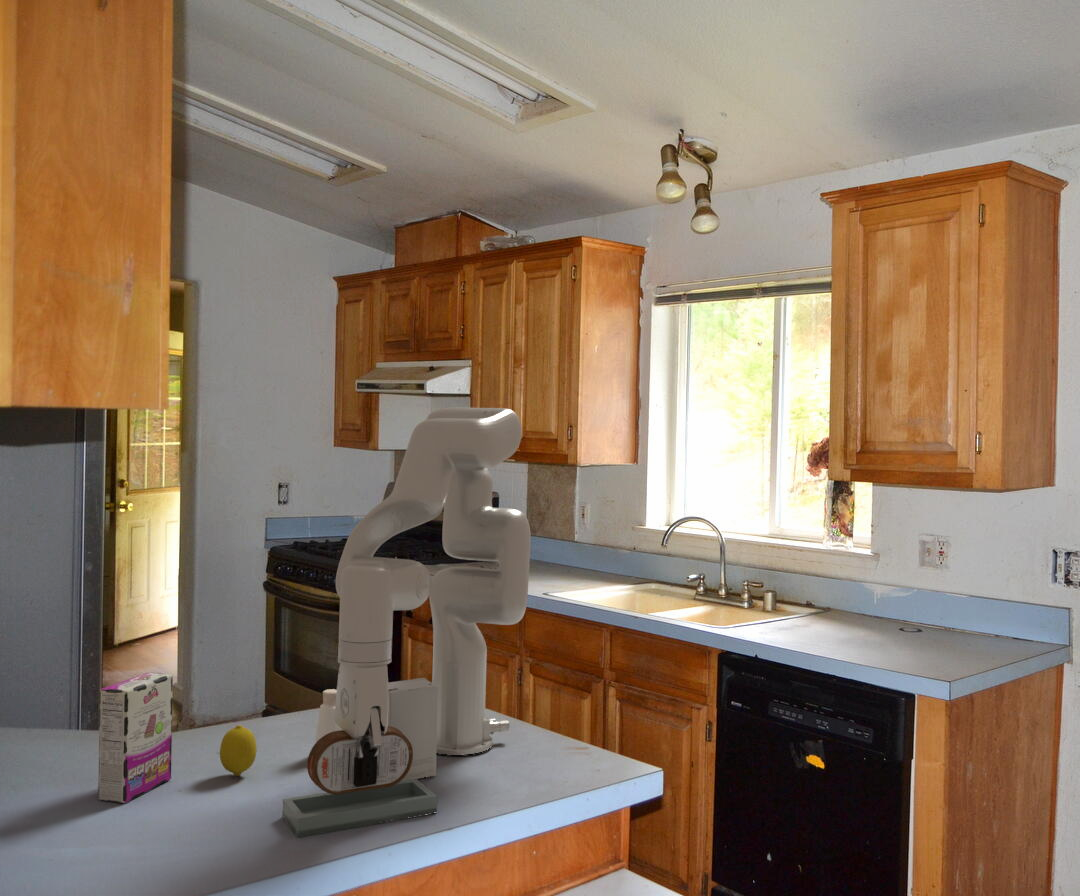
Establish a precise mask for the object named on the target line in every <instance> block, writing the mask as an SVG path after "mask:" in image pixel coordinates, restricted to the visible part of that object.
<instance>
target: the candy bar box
mask: <svg viewBox="0 0 1080 896" xmlns="http://www.w3.org/2000/svg"><path fill="white" fill-rule="evenodd" d="M173 676H174V674H169V673H162V672H160V673H159V672H146V673H143V674H140V675H137V676H135V677H132V678H129V679H128V678H127V679H126V680H123V681H119V682H117V683H114V684H112V685H108V686H106V687H103V688H100V689H99V723H98V725H99V726H98V727H99V731H98V735H99V738H98V739H99V743H98V744H99V745H98V787H97V788H98V789H97V790H98V793H97V794H98V796H97V799H98V801H101V800H104V801H103V802H105V801H111V802H110V803H116V802H117V803H118V804H127V802H128V803H129V802H131V801H133V800H135V799H137V798H138V797H141V796H143V795H144V794H146V793H148V792H150V791H151V790H154V789H155V788H157V787H159V786H161V785H162V784H165V783H166V782H168V781H170V780H171V779H172V748H173V747H172V745H173V744H172V743H173V741H172V740H173V739H172V737H173V727H172V725H173V688H174V687H173V684H174V683H173V679H174V678H173Z"/></svg>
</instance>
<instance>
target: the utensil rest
mask: <svg viewBox="0 0 1080 896" xmlns="http://www.w3.org/2000/svg"><path fill="white" fill-rule="evenodd" d="M437 808H438V795H436V794H435V792H433V791H432V790H430V789H429V788H428V787H426V785H424V784H423V783H421V781H420V780H419V779H412V780H406V781H400V782H399V783H397V784H395V785H393V786H391V787H386V788H379V789H372V790H365V791H358V792H351V793H344V794H330V793H327V792H322V793H321V792H320V793H315V794H314V793H313V794H309V795H308V794H307V795H302V796H296V797H289V798H282V813H281V814H282V815H281V816H282V817H281V818H282V819H283V820H284V819H285V820H284V821H285V822H287V823H288V824H287V823H286V824H287V825H288V827H289V826H290V827H289V828H290V829H291V831H292V830H293V831H292V832H293V834H294V835H295V836H296V837H297V838H303V837H309V836H314V835H319V834H325V833H332V832H336V831H337V830H338V831H343V830H349V828H350V829H354V827H355V828H359V827H360V826H361V827H366V826H365V825H367V826H372V825H371V824H373V825H377V824H376V823H379V824H381V823H380V822H384V823H387V822H386V821H390V822H392V821H391V820H396V821H398V820H397V819H402V820H405V819H404V818H407V819H409V818H408V817H413V818H415V817H414V816H419V815H425V814H429V813H434V812H437V811H438V809H437ZM425 816H426V815H425ZM419 817H420V816H419ZM331 831H332V832H331ZM338 831H337V832H338Z"/></svg>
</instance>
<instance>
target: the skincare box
mask: <svg viewBox="0 0 1080 896" xmlns="http://www.w3.org/2000/svg"><path fill="white" fill-rule="evenodd" d="M437 688H438V686H436V685H435V684H433V683H432V681H430V680H428V679H427V678H425V677H420V678H413V679H406V680H396V681H391V682H389V681H388V699H389V707H388V726H391V727H394V728H397V729H398V730H400V731H401V732H402V733H403V734H404V735H405V736H406V737H407V738H408V740H409V741H410V743H411V745H412V749H413V760H412V764H411V767H410V770H409V772H408V773H407V775H406V776H405V777H404V778H403V779H402V780H401V781H406V780H412V779H417V780H419V779H425V778H424V777H426V778H430V776H431V777H435V776H437V754H436V747H437Z"/></svg>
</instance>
